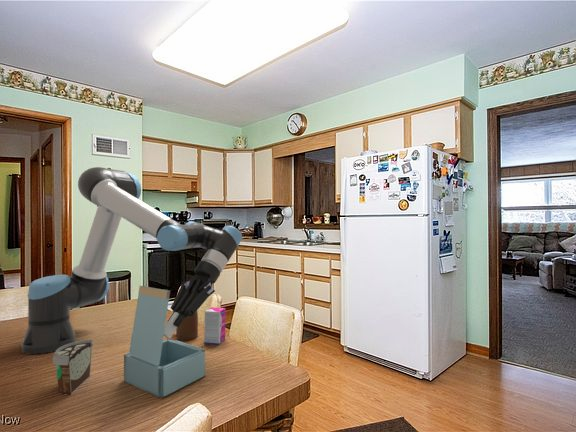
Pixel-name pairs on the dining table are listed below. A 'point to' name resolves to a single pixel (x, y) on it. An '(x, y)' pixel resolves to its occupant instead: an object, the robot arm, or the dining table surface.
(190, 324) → the mug
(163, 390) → the carton
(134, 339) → the flap
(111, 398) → the dining table surface
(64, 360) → the food container
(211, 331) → the supplement box
